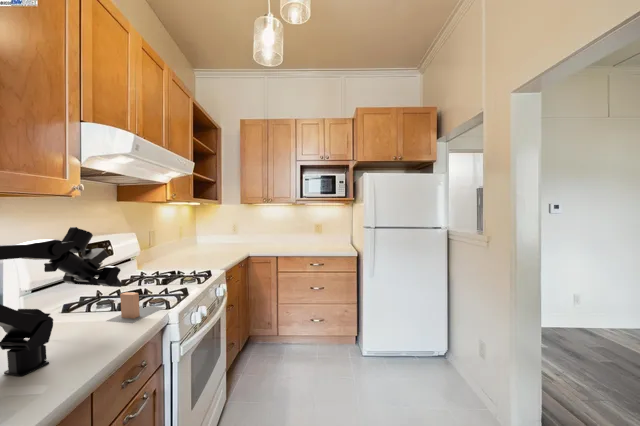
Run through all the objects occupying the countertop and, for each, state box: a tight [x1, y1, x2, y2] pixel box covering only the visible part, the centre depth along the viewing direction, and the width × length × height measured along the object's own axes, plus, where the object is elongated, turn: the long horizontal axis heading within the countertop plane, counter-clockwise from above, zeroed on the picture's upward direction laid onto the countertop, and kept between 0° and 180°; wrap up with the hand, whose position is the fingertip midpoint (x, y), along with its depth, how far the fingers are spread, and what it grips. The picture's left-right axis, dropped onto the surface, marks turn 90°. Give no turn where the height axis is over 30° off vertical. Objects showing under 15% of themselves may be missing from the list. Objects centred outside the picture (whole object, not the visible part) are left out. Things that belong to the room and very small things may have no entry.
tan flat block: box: [119, 292, 140, 318], centre depth 111 cm, size 2×6×9 cm, turn 77°
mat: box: [106, 305, 166, 324], centre depth 114 cm, size 16×12×1 cm
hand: (110, 284), depth 103 cm, fingers open, 9 cm apart
